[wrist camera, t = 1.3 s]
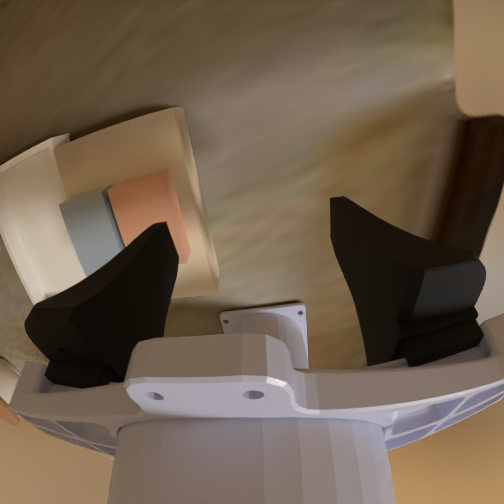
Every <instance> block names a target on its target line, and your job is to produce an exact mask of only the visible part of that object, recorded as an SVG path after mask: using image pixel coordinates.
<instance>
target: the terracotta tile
mask: <svg viewBox="0 0 504 504" xmlns="http://www.w3.org/2000/svg"><path fill="white" fill-rule="evenodd" d="M107 192H108V195H109V199H110V202H111V205H112V208H113V212H114V215H115V218H116V221H117V224H118V227H119V230H120V233H121V236H122V239H123V242H124V244H125V247H126V246H127V245H129V244H130V243H131V242H132V241H133V240H134V239H135V238H136V237H138V236H139V235H140V234H141V233H142V232H143V231H144V230H146V229H147V228H148V227H149V226H151V225H152V224H154V223H159V222H165V221H166V222H167V225H168V228H169V231H170V233H171V236H172V239H173V242H174V244H175V247H176V250H177V253H178V255H179V264H186V263H187V260H188V258H189V255H190V253H191V248H190V244H189V241H188V237H187V233H186V230H185V226H184V222H183V218H182V214H181V210H180V206H179V202H178V198H177V194H176V190H175V186H174V182H173V178H172V174H171V170H167V171H163V172H158V173H154V174H150V175H146V176H142V177H138V178H134V179H130V180H126V181H122V182H119V183H117V184H115V185H114V186H112V187H111V188H109V189H108V190H107Z"/></svg>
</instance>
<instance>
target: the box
mask: <svg viewBox="0 0 504 504" xmlns="http://www.w3.org/2000/svg"><path fill="white" fill-rule="evenodd" d="M69 142H71V141H70V137H69V133H67V134H64V135H60V136H56V137H52V138H50V139H48V140H46V141H44V142H42V143H40V144H38V145H36V146H34V147H32V148H30V149H29V150H27V151H25V152H23V153H21V154H20V155H18V156H16V157H14V158H13V159H11V160H9V161H8V162H6V163H4V164H3V165H1V166H0V234H1V236H2V239H3V241H4V244H5V246H6V248H7V251H8V253H9V256H10V258H11V260H12V262H13V264H14V267H15V269H16V271H17V273H18V275H19V277H20V279H21V281H22V283H23V285H24V287H25V289H26V291H27V293H28V295H29V297H30V299H31V300H32V302H33V304H34V305H35V304H36V303H38V302H40V301H43V300H45V299H47V298H49V297H52V296H54V295H56V294H58V293H60V292H62V291H64V290H66V289H68V288H70V287H71V286H73V285H75V284H77V283H78V282H80V281H81V280H83V279H85V278H86V275H85V272H84V270H83V268H82V266H81V263H80V261H79V258H78V256H77V254H76V251H75V249H74V246H73V244H72V241H71V239H70V236H69V233H68V231H67V228H66V225H65V222H64V220H63V217H62V214H61V211H60V208H59V204H60V203H62V202H63V201H65V200H66V199H67V198H66V194H65V191H64V188H63V185H62V181H61V178H60V174H59V170H58V167H57V163H56V159H55V155H54V151H53V149H55V148H58V147H60V146H62V145H64V144H67V143H69ZM87 277H88V276H87Z"/></svg>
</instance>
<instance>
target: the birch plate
mask: <svg viewBox="0 0 504 504" xmlns="http://www.w3.org/2000/svg"><path fill="white" fill-rule="evenodd" d="M53 151H54V155H55V159H56V163H57V167H58V170H59V174H60V178H61V181H62V185H63V188H64V191H65V194H66V198H67V199H68V198H70V197H71V196H74V195H77V194H81V193H84V192H87V191H90V190H94V189H97V188H101V187H104V186H108V185H111V184H113V186H114V185H115V184H117V183H119V182H122V181H126V180H130V179H134V178H138V177H142V176H146V175H150V174H154V173H158V172H163V171H167V170H171V174H172V178H173V182H174V186H175V190H176V194H177V198H178V202H179V206H180V210H181V214H182V218H183V222H184V226H185V230H186V233H187V237H188V241H189V244H190V248H191V253H190V255H189V258H188V260H187V263H186V264H179V265H178V273H177V278H176V282H175V286H174V290H173V293H172V297H171V299H176V298H186V297H196V296H205V295H214V294H217V290H218V284H219V279H220V270H219V266H218V262H217V258H216V254H215V250H214V245H213V241H212V237H211V233H210V228H209V224H208V220H207V215H206V211H205V207H204V202H203V198H202V193H201V189H200V184H199V179H198V175H197V170H196V165H195V161H194V156H193V151H192V146H191V141H190V136H189V131H188V126H187V121H186V116H185V111H184V107H173V108H169V109H165V110H161V111H158V112H154V113H151V114H147V115H144V116H140V117H137V118H134V119H131V120H128V121H125V122H122V123H119V124H116V125H113V126H110V127H107V128H105V129H102V130H99V131H96V132H94V133H91V134H89V135H86V136H84V137H81V138H79V139H76V140H74V141H71V142H69V143H67V144H64V145H62V146H60V147H58V148H55V149H53Z"/></svg>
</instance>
